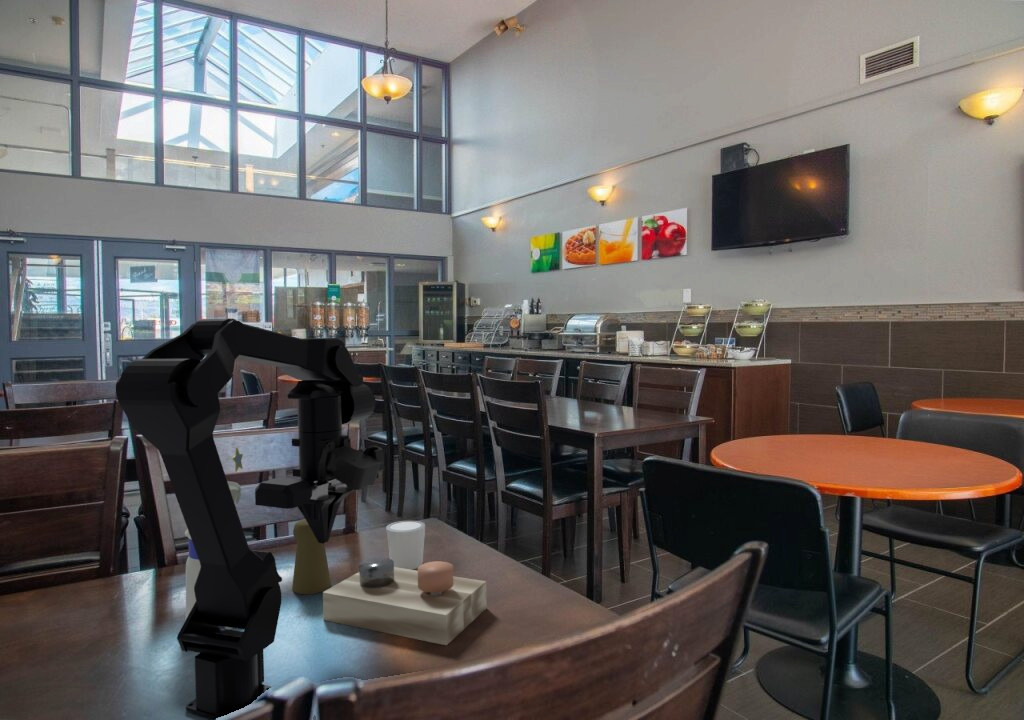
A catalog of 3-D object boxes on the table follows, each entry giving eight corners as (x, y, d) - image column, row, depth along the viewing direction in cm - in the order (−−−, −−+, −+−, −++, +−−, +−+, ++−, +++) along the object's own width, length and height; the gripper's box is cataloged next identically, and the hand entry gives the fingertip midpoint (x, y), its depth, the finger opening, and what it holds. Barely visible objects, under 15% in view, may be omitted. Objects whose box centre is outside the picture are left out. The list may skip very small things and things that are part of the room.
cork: (319, 595, 97) (317, 525, 97) (284, 592, 99) (282, 524, 98) (337, 580, 103) (336, 514, 103) (304, 578, 104) (302, 513, 104)
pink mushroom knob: (442, 621, 85) (442, 576, 85) (411, 616, 87) (410, 571, 87) (460, 607, 90) (459, 564, 89) (430, 601, 92) (429, 559, 91)
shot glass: (382, 561, 112) (381, 523, 112) (419, 555, 115) (419, 517, 115) (392, 574, 106) (391, 533, 105) (431, 567, 109) (430, 528, 108)
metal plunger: (381, 615, 89) (380, 571, 89) (353, 609, 91) (352, 567, 91) (401, 601, 94) (400, 560, 93) (373, 596, 96) (372, 556, 95)
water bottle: (249, 604, 94) (244, 440, 93) (247, 629, 86) (241, 449, 85) (188, 614, 91) (182, 444, 90) (180, 640, 83) (173, 454, 82)
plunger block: (446, 645, 81) (445, 615, 81) (323, 619, 89) (322, 592, 89) (486, 608, 92) (486, 581, 92) (373, 588, 100) (373, 563, 100)
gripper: (321, 443, 73) (324, 574, 74) (407, 423, 91) (410, 529, 91) (250, 439, 78) (253, 562, 78) (345, 420, 95) (348, 521, 95)
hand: (323, 542), depth 86 cm, fingers closed
